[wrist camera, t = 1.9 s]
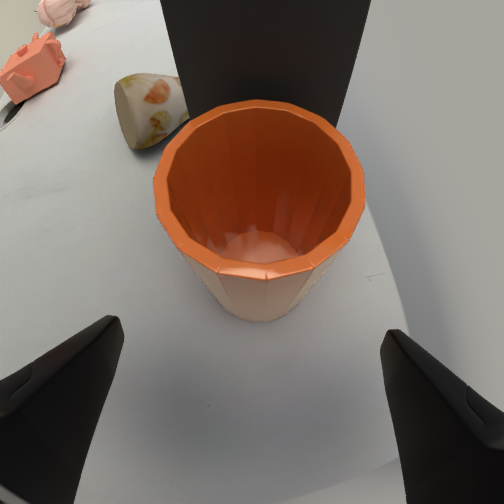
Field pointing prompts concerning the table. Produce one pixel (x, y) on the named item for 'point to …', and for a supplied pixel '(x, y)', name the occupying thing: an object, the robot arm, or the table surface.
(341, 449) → the table surface
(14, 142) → the table surface
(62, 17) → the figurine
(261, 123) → the cup
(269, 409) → the table surface
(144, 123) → the mug
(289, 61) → the grey l-shaped post
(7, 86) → the teapot
